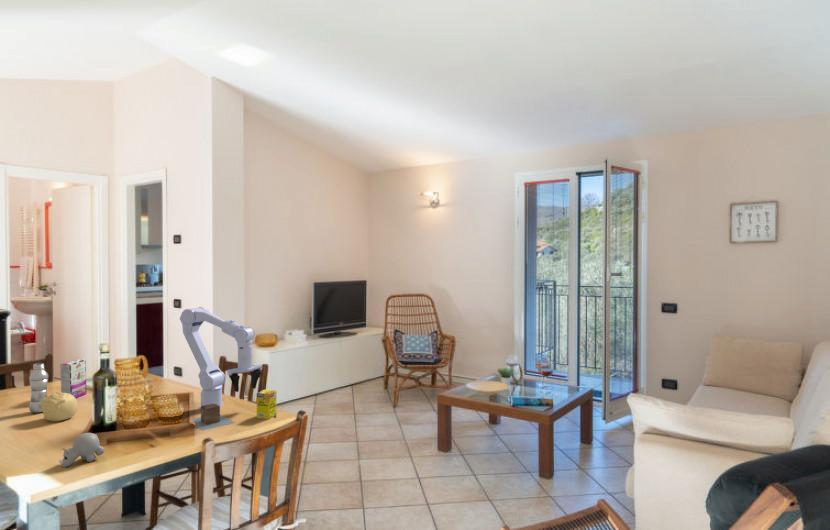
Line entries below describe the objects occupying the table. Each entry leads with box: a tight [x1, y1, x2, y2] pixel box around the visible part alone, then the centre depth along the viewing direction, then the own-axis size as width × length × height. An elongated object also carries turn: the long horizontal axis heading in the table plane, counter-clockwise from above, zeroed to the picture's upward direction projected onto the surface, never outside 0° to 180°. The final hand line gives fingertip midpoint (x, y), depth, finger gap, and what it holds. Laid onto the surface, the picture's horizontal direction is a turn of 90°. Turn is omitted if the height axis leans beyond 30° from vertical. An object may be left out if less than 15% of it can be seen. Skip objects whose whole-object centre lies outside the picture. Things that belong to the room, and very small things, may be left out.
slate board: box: [193, 414, 236, 431], centre depth 205 cm, size 16×13×1 cm
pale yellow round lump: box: [40, 391, 79, 423], centre depth 211 cm, size 12×12×11 cm
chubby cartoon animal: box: [58, 432, 106, 468], centre depth 167 cm, size 7×12×8 cm, turn 143°
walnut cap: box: [200, 404, 221, 425], centre depth 205 cm, size 5×5×6 cm
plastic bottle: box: [28, 362, 49, 414], centre depth 220 cm, size 6×7×20 cm
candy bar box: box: [59, 358, 88, 399], centre depth 244 cm, size 11×5×16 cm, turn 179°
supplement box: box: [256, 389, 278, 420], centre depth 212 cm, size 6×6×11 cm
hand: (245, 389), depth 221 cm, fingers open, 7 cm apart
